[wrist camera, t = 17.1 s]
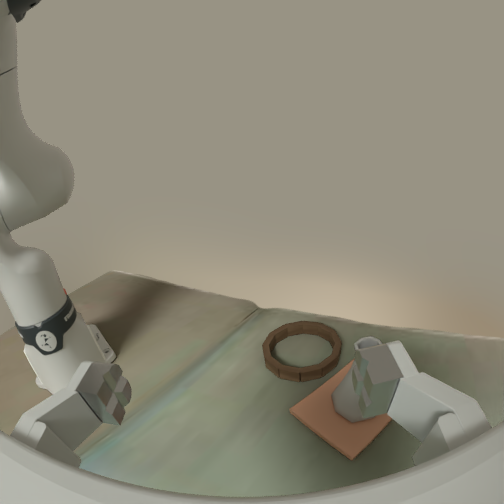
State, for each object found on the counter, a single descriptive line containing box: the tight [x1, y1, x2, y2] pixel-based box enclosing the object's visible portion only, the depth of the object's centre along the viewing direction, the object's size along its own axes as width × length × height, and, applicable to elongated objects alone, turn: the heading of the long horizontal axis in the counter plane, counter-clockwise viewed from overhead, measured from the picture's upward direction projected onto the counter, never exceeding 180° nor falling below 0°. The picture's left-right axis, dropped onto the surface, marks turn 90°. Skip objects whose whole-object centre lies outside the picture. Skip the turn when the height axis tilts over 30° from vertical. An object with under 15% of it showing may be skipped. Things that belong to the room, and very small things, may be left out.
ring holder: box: [262, 321, 342, 382], centre depth 41 cm, size 12×12×2 cm
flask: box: [331, 336, 382, 423], centre depth 28 cm, size 7×7×10 cm
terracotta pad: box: [290, 359, 392, 460], centre depth 30 cm, size 11×14×1 cm
